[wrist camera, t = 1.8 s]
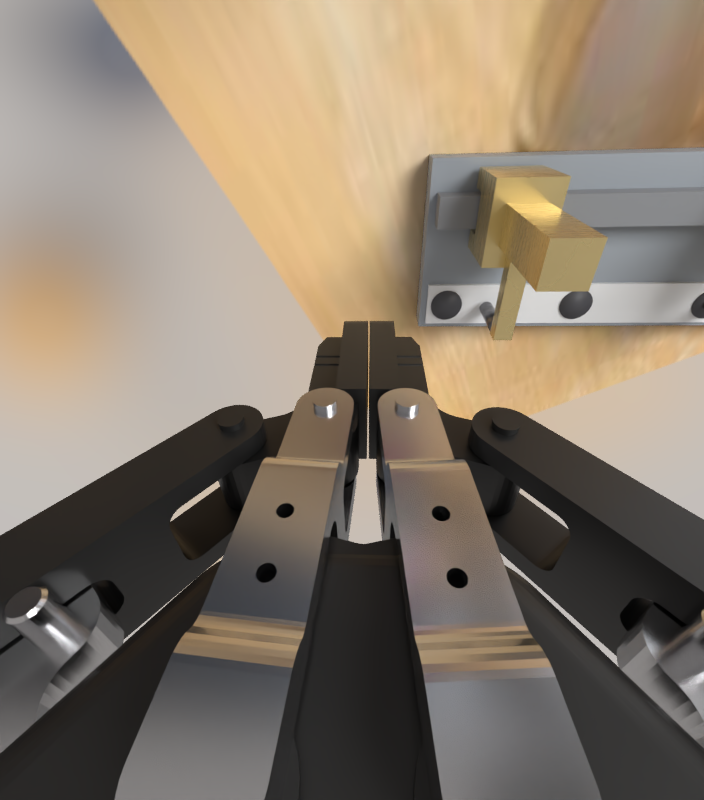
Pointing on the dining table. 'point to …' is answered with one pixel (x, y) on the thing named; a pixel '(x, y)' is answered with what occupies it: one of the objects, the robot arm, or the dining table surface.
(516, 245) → the slider
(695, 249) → the board
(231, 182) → the dining table surface
